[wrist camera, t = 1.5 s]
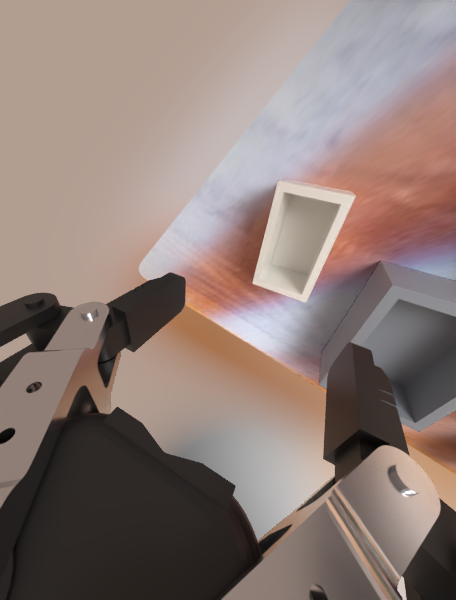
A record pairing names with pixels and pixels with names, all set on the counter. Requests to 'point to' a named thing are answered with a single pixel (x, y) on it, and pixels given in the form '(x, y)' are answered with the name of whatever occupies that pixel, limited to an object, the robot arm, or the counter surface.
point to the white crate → (300, 236)
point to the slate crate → (405, 340)
